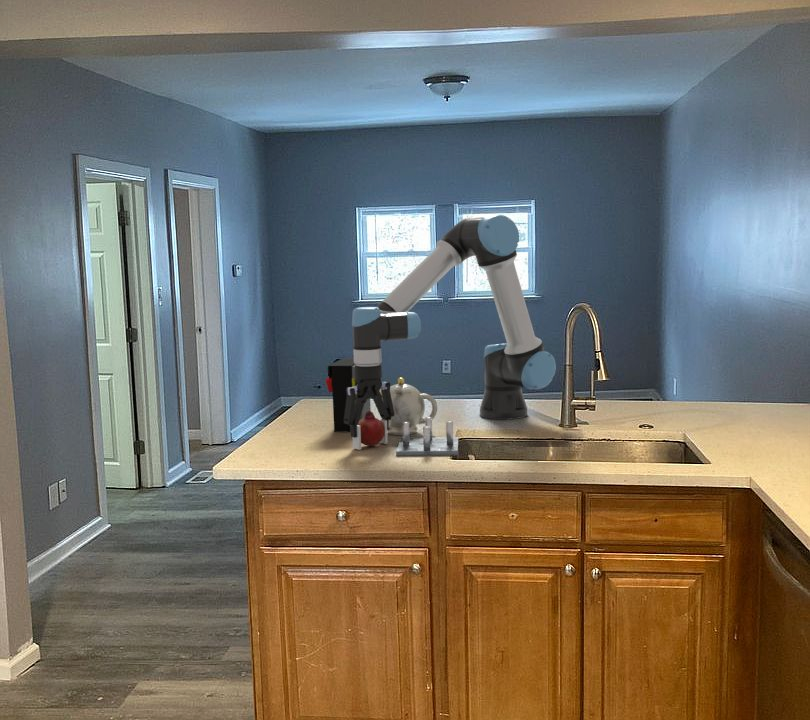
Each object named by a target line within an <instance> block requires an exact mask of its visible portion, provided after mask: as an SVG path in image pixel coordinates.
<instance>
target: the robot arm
mask: <svg viewBox="0 0 810 720" xmlns="http://www.w3.org/2000/svg"><path fill="white" fill-rule="evenodd" d="M519 242H520V231H519V228H518V226H517V224H516V223H515V222H514V221H513V220H512V219H511V218H510V217H508V216H506V215H503V214H495V213H494V214H493V213H491V214H490V213H489V214H483V215H473V216H467V217H465V218H463V219H462V220H460V221H458V222H457V223H455V225H454V226H453V227H451V228H450V229H449V230H448V231H447V232H445V234H444V235H443V236H442V237H441V238H439V240H438V241H436V246H435V247H436V248H435V249H433V251H431V252H430V253H429V254H428V255H427V256H426V257H425V258H424V259H422V261H421V262H420V263H419V264H418V265H417V266H416V267H415V268H414V269H413V270H412V271H411V272H410V273H409V274H408V275H407V276H406V277H405V278H404V279H403V280H402V281H401V282H400V283H399V284H398V285H397V286H396V287H395V288H393V290H392V291H391V292H389V294H388V295H387V296H386V297H385V298H384V299H383V300H382V301H381V302H380V303H378V304H377V306H364V307H363V306H362V307H356V308H354V309H353V310H352V316H351V317H352V319H351V327H352V340H353V342H352V343H353V348H352V349H353V350H352V351H353V358H354V363H355V364H356V365H355V366H354V378H355V380H356V383H355V386H354V387H351V388H350V387H347V388H346V394H347V398H346V406H345V414H344V423H345V424H349V425H350V432H349V434H350V438H352V449H354V450H359V451H361V450H362V443H361V430H360V425H358V422H359V419H360V416H361V413H362V410H363V407H364V404H365V402H366V401H367V399H369V398H370V399H372V401H373V403H374V405H375V407H376V409H377V412H378V414H379V417H380V418H381V419H380V418H379V420H380V421H381V422H382V423H383V425H384V429H385V433H384V437H383V439H382V440H381V441H380V442H379V444H383V445H385V444H386V445H387V444H388V443H389V442H388V430H389V420H391V417H393V416H394V415H395V414H394V409H393V404H392V399H391V393H390V387H391V382H388V381H382V379H381V378H382V377H383V370H382V368H383V367H382V365H381V364H382V342H386V341H399V340H401V341H402V340H403V341H404V340H411V339H416V338H418V337H419V335H420V333H421V331H422V321H421V319H420V316H419V314H418V313H416V312H413V311H410V310H411V309H412V308H413V307H414V306H415V305H416V304H417V303H418V302H419V301H420V300H421V299H422V298H423V297H424V296H425V295H426V294H427V293H429V291H431V289H432V288H433V287H435V285H436V284H437V283H438V282H439V281H441V279H442V278H443V277H444V276H445V275H446V274H447V273H448V272H449V271H451V269H452V268H453V267H455V266H460V265H461V264H462V263H463V262H464V261H466V260H467V259H470V258H471V257H475V259H476V261H477V265H478V267H479V268H480V269H482V270H484V271H485V273H486V277H487V281H488V284H489V287H490V291H491V294H492V297H493V300H494V304H495V307H496V311H497V314H498V317H499V320H500V324H501V327H502V331H503V334H504V338H505V341H506V343H497V344H496V343H495V344H488V345H486V346H485V347H484V352H483V363H484V365H483V366H484V371H483V372H484V394H483V398H482V400H481V404H480V406H479V416H480V417H482V418H486V419H491V420H513V419H520V418H525V417H527V416H528V406H527V402H526V400H525V398H524V394H523V390H522V389H523V388H525V389H527V390H541V389H543V388H546V387H547V386H548V385H550V383H551V382H552V381H553V377H554V376H555V374H556V370H557V365H556V359H555V357H554V355H552V354H551V353H550V352H548V351H545V348H544V345H543V342H542V339H541V338H538V337H537V336H536V335H535V332H534V329H533V324H532V321H531V318H530V314H529V310H528V307H527V304H526V303H527V302H526V300H525V297H524V292H523V290H522V287H521V283H520V279H519V275H518V272H517V269H516V265H515V259H516V258H517V255H518V253H517V250H516V249H517V248H518V247H519V244H518V243H519ZM379 390H381V393H382V396H381V393H380V391H379ZM356 391H357V392H356ZM356 394H357V396H356ZM382 398H383V400H382ZM355 399H356V402H355Z"/></svg>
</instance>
